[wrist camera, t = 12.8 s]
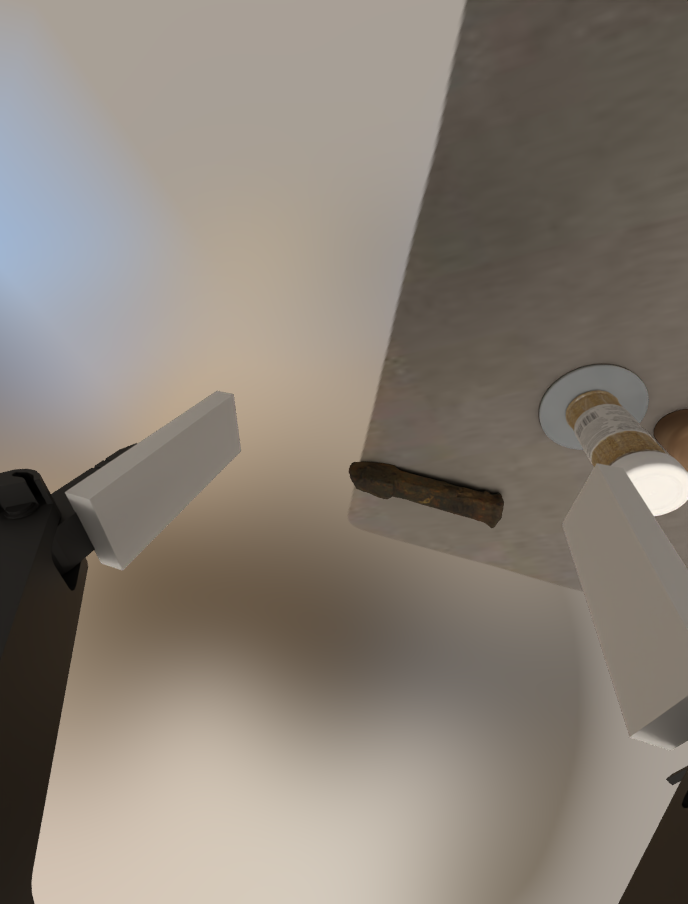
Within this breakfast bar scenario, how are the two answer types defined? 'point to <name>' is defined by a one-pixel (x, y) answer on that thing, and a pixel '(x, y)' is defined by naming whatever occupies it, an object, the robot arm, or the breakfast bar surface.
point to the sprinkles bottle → (627, 450)
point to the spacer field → (674, 435)
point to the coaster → (585, 380)
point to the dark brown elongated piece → (426, 491)
